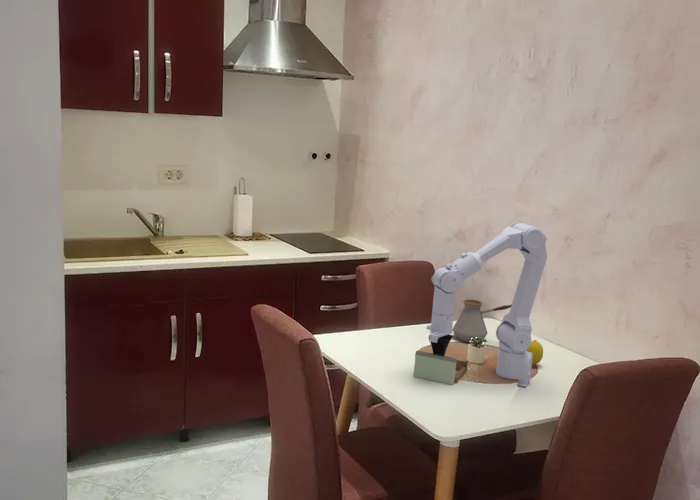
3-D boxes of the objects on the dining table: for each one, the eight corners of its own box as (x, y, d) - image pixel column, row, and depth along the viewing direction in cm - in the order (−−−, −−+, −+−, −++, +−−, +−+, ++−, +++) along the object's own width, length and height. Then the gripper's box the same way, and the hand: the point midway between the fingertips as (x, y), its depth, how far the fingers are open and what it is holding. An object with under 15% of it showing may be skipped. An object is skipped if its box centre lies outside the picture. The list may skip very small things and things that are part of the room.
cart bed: (466, 375, 187) (467, 360, 186) (455, 388, 176) (457, 372, 176) (425, 367, 191) (427, 352, 191) (413, 379, 181) (414, 363, 180)
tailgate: (454, 383, 176) (456, 358, 175) (452, 384, 175) (455, 359, 174) (415, 374, 180) (417, 350, 179) (413, 376, 179) (415, 351, 178)
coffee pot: (447, 339, 219) (451, 295, 216) (458, 331, 229) (462, 289, 226) (511, 353, 209) (516, 307, 206) (519, 344, 219) (524, 300, 216)
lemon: (542, 369, 196) (545, 343, 194) (523, 367, 197) (526, 341, 196) (540, 363, 201) (543, 338, 200) (522, 361, 202) (525, 336, 201)
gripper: (436, 304, 185) (432, 350, 188) (420, 316, 172) (415, 365, 175) (461, 308, 183) (456, 355, 185) (446, 320, 170) (441, 371, 172)
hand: (438, 360), depth 180 cm, fingers closed
